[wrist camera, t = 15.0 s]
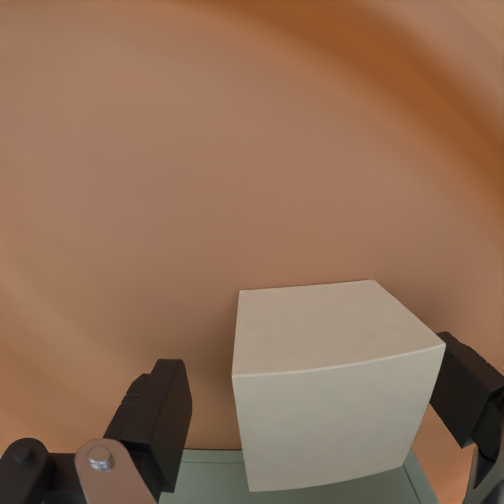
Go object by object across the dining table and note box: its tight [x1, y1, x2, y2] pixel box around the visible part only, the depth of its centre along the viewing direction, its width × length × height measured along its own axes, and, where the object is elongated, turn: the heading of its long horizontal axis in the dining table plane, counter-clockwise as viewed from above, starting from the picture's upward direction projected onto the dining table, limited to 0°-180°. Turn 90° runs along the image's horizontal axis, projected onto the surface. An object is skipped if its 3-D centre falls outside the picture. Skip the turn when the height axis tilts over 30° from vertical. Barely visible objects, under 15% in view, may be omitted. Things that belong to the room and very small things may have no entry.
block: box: [231, 279, 446, 492], centre depth 8 cm, size 4×4×4 cm
